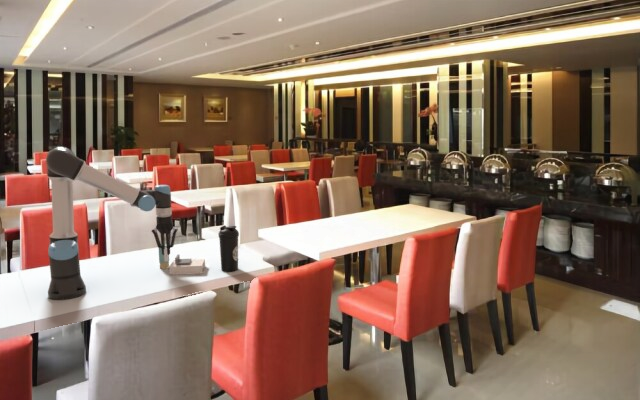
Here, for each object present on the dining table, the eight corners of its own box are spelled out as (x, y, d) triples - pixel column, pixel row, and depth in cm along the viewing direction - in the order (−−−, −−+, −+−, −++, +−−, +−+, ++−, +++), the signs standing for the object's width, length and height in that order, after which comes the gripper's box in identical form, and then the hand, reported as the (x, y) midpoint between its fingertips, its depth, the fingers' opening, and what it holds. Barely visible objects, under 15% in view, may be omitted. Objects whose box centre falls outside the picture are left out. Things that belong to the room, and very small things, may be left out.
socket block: (169, 274, 245) (169, 266, 244) (174, 267, 256) (173, 259, 256) (202, 273, 246) (201, 265, 246) (205, 266, 258) (204, 259, 258)
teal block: (159, 268, 254) (158, 246, 252) (161, 266, 258) (160, 244, 256) (168, 268, 255) (166, 246, 253) (169, 265, 259) (168, 244, 257)
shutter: (175, 264, 247) (175, 258, 246) (177, 260, 254) (177, 254, 253) (189, 264, 247) (189, 258, 247) (191, 260, 254) (191, 254, 254)
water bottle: (235, 273, 247) (234, 229, 243) (216, 271, 249) (215, 228, 245) (242, 267, 257) (241, 224, 253) (224, 266, 259) (222, 223, 255)
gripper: (149, 217, 241) (151, 263, 245) (175, 216, 242) (178, 262, 246) (152, 214, 248) (155, 258, 252) (178, 213, 250) (180, 258, 254)
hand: (166, 260), depth 249 cm, fingers closed
